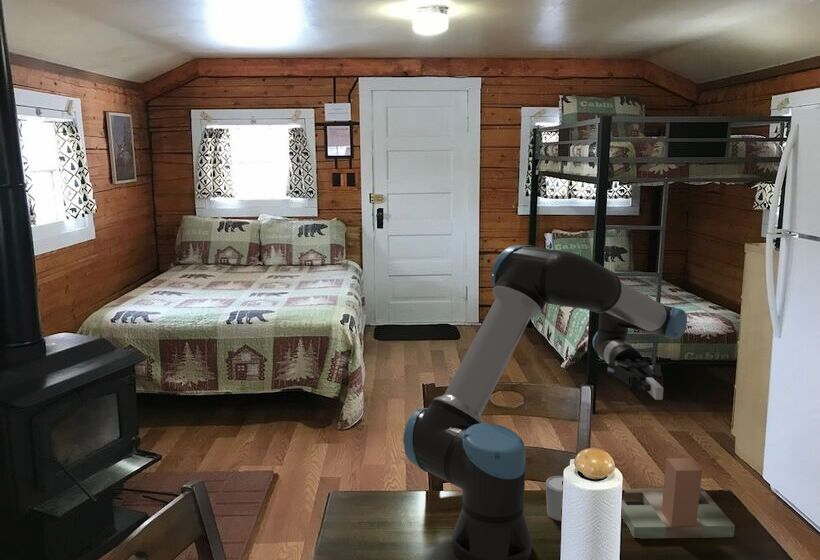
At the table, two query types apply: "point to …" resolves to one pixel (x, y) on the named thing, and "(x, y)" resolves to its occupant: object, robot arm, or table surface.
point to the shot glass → (554, 496)
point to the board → (650, 522)
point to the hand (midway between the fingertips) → (659, 393)
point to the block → (681, 491)
